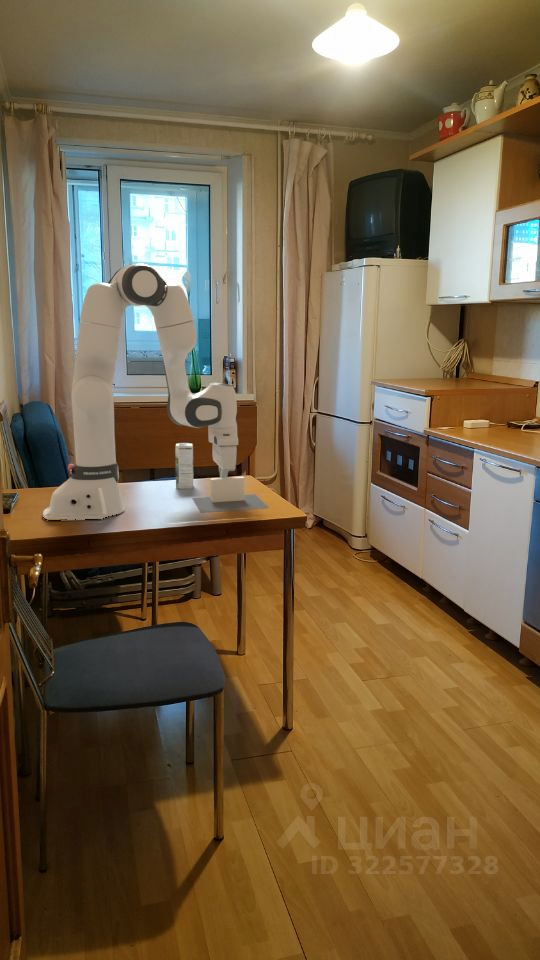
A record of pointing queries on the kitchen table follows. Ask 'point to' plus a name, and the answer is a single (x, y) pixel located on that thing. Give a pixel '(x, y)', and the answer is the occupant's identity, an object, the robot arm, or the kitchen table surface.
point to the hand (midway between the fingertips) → (223, 480)
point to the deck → (227, 489)
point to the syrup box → (184, 465)
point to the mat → (229, 504)
